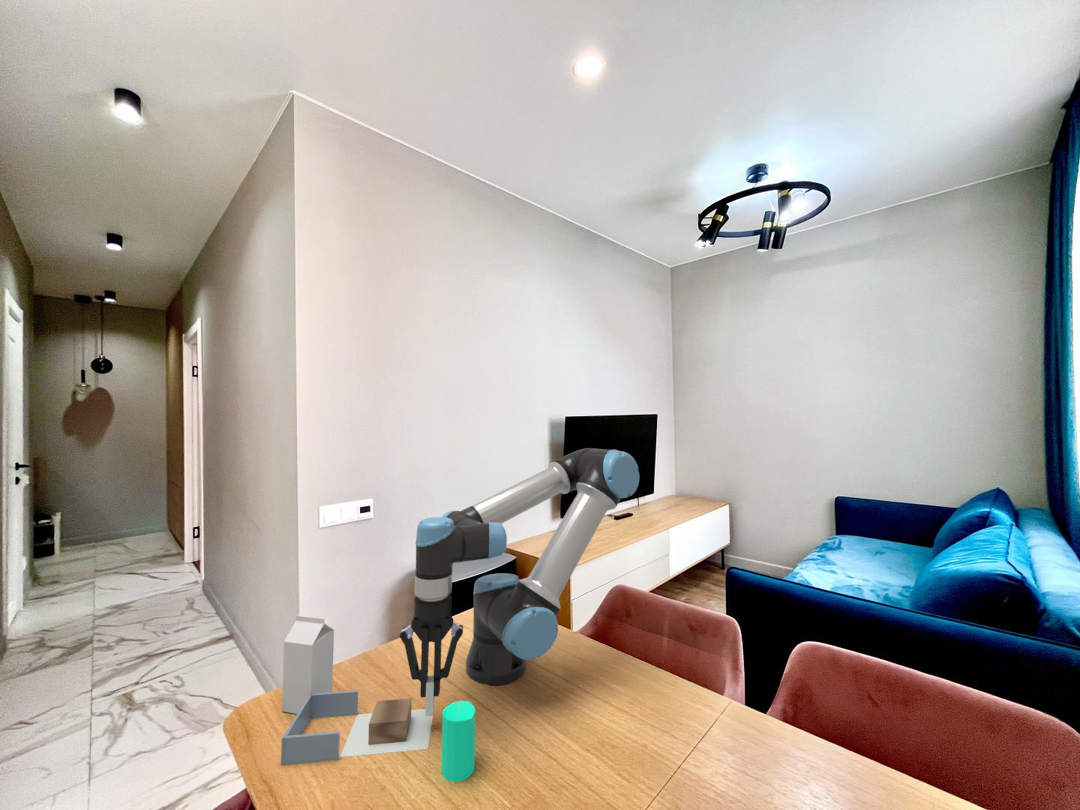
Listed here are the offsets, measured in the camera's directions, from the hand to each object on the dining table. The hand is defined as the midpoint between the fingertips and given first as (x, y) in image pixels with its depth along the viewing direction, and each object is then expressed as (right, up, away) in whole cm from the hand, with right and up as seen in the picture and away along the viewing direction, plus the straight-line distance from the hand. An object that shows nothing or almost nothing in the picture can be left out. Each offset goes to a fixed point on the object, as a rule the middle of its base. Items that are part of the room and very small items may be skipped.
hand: (429, 711), depth 89 cm
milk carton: (-29, -4, +8) cm, 30 cm away
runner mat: (-8, -3, -1) cm, 8 cm away
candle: (+8, -3, -11) cm, 14 cm away
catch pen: (-20, -3, -3) cm, 21 cm away
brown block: (-8, -3, -1) cm, 8 cm away
